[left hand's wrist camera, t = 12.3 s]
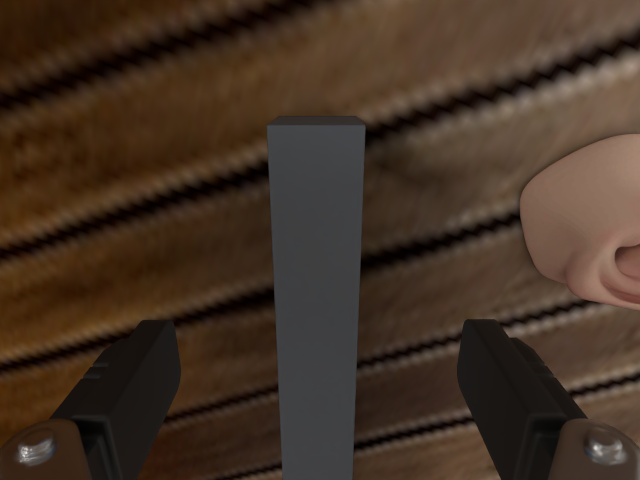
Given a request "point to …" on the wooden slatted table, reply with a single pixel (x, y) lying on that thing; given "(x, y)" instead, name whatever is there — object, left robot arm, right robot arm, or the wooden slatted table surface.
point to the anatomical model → (589, 221)
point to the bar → (316, 287)
